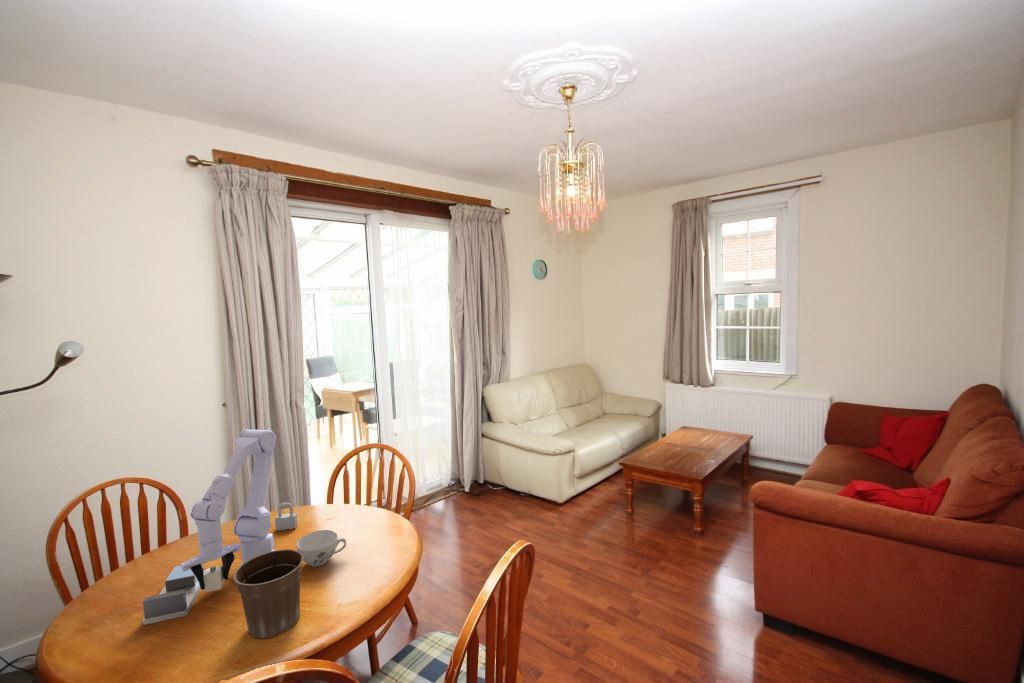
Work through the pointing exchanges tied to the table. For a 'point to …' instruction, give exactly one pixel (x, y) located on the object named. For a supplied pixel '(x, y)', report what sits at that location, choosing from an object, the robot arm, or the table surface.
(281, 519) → the padlock
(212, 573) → the block
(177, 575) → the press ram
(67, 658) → the table surface
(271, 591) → the plant pot
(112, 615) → the table surface
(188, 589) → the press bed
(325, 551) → the teacup
